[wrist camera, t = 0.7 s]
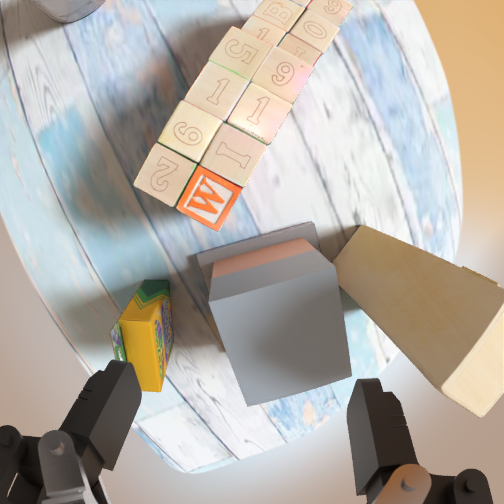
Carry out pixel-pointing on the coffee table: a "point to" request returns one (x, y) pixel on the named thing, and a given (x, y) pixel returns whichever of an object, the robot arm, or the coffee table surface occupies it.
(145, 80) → the coffee table surface
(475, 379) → the tall beige wooden block
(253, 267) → the two-tone cube on base
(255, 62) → the stack of blocks
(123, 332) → the crayon box
